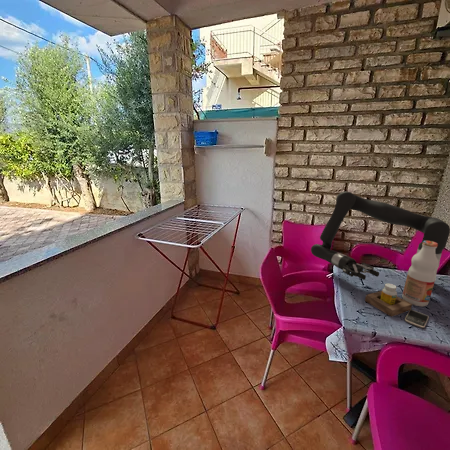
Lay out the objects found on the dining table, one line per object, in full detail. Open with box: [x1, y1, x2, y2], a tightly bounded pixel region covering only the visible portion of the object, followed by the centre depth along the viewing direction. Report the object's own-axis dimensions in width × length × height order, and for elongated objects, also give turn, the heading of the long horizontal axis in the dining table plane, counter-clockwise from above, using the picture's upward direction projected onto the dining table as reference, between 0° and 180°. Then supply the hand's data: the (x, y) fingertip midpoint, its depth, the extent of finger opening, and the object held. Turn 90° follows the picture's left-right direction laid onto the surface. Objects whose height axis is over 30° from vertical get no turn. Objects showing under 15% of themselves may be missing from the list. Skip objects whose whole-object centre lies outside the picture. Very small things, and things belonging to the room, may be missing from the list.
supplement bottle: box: [380, 283, 398, 305], centre depth 103 cm, size 5×5×10 cm
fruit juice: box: [401, 241, 440, 307], centre depth 104 cm, size 9×9×28 cm
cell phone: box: [404, 308, 430, 329], centre depth 96 cm, size 6×11×1 cm, turn 133°
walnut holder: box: [364, 290, 413, 318], centre depth 104 cm, size 12×12×3 cm
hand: (371, 276), depth 110 cm, fingers open, 8 cm apart
